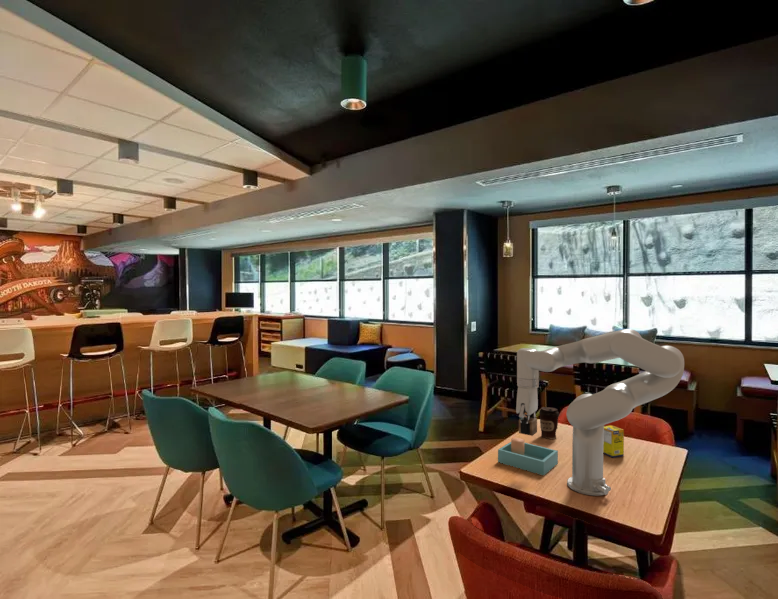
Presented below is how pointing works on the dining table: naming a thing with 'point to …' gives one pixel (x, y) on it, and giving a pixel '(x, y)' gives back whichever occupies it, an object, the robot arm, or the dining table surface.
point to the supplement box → (613, 441)
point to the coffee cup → (548, 422)
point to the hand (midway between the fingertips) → (528, 431)
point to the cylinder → (517, 446)
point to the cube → (532, 426)
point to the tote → (529, 458)
